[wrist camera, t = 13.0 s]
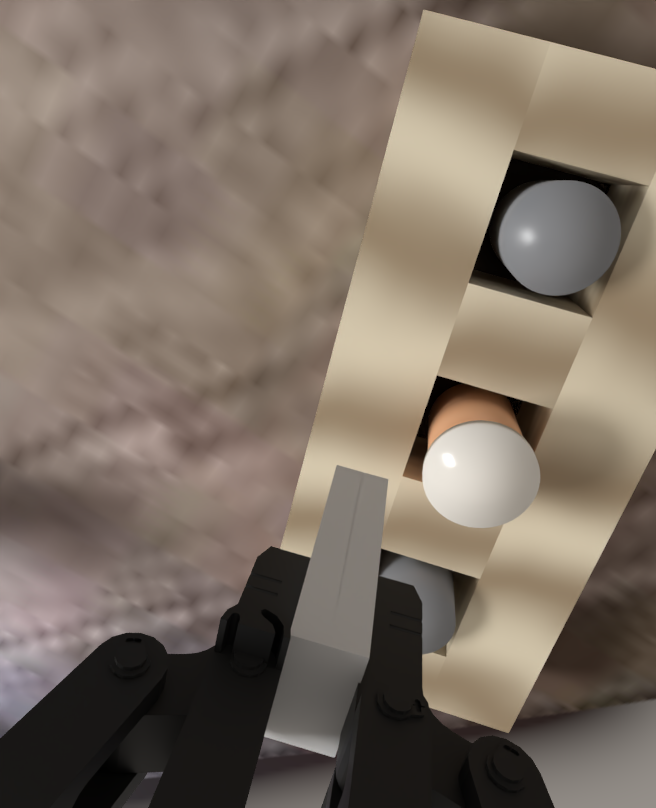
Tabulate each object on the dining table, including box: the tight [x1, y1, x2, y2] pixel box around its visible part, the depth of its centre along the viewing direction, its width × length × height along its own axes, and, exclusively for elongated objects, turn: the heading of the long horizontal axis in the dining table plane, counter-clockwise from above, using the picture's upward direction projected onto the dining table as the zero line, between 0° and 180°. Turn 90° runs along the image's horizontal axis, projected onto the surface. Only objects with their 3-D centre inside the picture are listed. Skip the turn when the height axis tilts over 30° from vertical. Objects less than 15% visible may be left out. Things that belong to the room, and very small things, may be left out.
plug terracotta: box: [422, 383, 540, 528], centre depth 26 cm, size 4×4×6 cm
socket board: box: [280, 10, 656, 733], centre depth 28 cm, size 30×14×5 cm, turn 166°
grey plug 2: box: [489, 180, 621, 296], centre depth 24 cm, size 4×4×6 cm
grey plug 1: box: [378, 548, 456, 655], centre depth 31 cm, size 4×4×6 cm
